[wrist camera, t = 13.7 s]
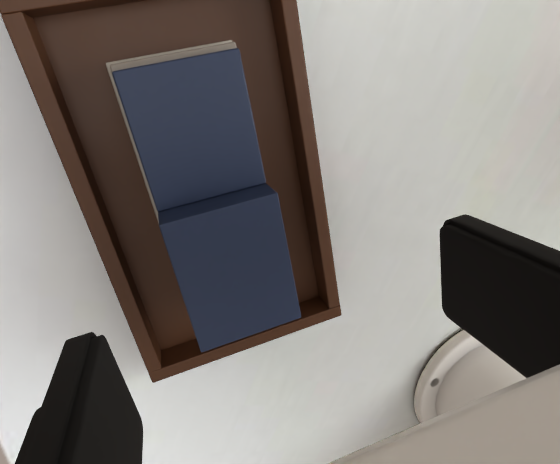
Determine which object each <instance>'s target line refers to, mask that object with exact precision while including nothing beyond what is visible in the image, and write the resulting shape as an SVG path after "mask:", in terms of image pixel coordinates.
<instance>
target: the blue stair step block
mask: <svg viewBox="0 0 560 464" xmlns="http://www.w3.org/2000/svg"><path fill="white" fill-rule="evenodd" d="M106 67H107V70H108V73H109V76H110V79H111V82H112V85H113V88H114V91H115V94H116V97H117V100H118V103H119V106H120V109H121V112H122V115H123V118H124V121H125V124H126V127H127V130H128V133H129V136H130V139H131V142H132V145H133V148H134V151H135V154H136V157H137V160H138V163H139V166H140V169H141V172H142V175H143V178H144V181H145V184H146V187H147V190H148V193H149V196H150V199H151V202H152V205H153V208H154V211H155V214H156V217H157V220H158V223H159V228H160V231H161V234H162V237H163V240H164V243H165V246H166V249H167V252H168V255H169V258H170V261H171V264H172V267H173V270H174V273H175V276H176V279H177V282H178V285H179V288H180V291H181V294H182V297H183V300H184V303H185V306H186V309H187V312H188V315H189V318H190V321H191V324H192V327H193V330H194V333H195V336H196V339H197V342H198V345H199V348H200V351H201V352H205V351H208V350H211V349H213V348H216V347H219V346H222V345H225V344H228V343H230V342H233V341H236V340H239V339H242V338H245V337H247V336H250V335H253V334H256V333H259V332H262V331H265V330H267V329H270V328H273V327H276V326H279V325H282V324H284V323H287V322H290V321H293V320H296V319H299V318H301V312H300V307H299V302H298V296H297V291H296V286H295V281H294V276H293V270H292V265H291V260H290V255H289V250H288V245H287V239H286V234H285V229H284V224H283V219H282V213H281V208H280V203H279V198H278V193H277V192H276V191H275V190H273V189H272V188H271V187H270V186H269V185H267V184H266V178H265V173H264V169H263V164H262V159H261V154H260V149H259V144H258V139H257V134H256V129H255V124H254V119H253V114H252V109H251V104H250V99H249V94H248V89H247V85H246V80H245V75H244V70H243V65H242V60H241V55H240V50H239V48H237V47H236V43H235V42H232V40H228V41H222V42H217V43H211V44H206V45H200V46H195V47H189V48H184V49H179V50H173V51H168V52H162V53H157V54H151V55H146V56H140V57H135V58H129V59H124V60H118V61H113V62H107V63H106Z"/></svg>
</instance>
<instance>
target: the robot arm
mask: <svg viewBox="0 0 560 464" xmlns="http://www.w3.org/2000/svg"><path fill="white" fill-rule="evenodd" d="M440 257H441V287H442V308H443V311H444V313H445V314H446V316H447V317H448V318H449V319H451V320H452V321H453V322H454V323H456V324H457V325H458V326H460V327H461V328H462V329H463V331H461V332H459V333H457V334H456V335H455V336H453V337H452V338H451V339H449V340H448V341H447V342H446V343H445V344H444V345H443V346H442V347H440V348H439V349H438V350H437V352H436V353H435V354H434V355H433V357H432V358H431V359H430V360H429V362H428V363H427V365H426V367H425V368H424V370H423V371H422V374H421V376H420V378H419V381H418V383H417V387H416V391H415V396H414V408H415V413H416V416H417V418H418V420H419V422H420V424H418V425H416V426H413V427H411V428H409V429H406V430H404V431H402V432H399V433H397V434H395V435H392V436H390V437H388V438H385V439H383V440H381V441H378V442H376V443H374V444H372V445H369V446H367V447H365V448H362V449H360V450H358V451H355V452H353V453H351V454H348V455H346V456H344V457H342V458H339V459H337V460H335V461H332V462H330V463H328V464H560V251H558V250H556V249H553V248H550V247H548V246H545V245H543V244H540V243H538V242H535V241H533V240H530V239H528V238H525V237H523V236H520V235H518V234H515V233H512V232H510V231H507V230H505V229H502V228H500V227H497V226H495V225H492V224H490V223H487V222H485V221H482V220H479V219H477V218H474V217H472V216H469V215H462V216H458V217H455V218H452V219H449V220H446V221H445V222H444V225H443V227H442V228H441V229H440ZM142 447H143V425H142V421H141V417H140V415H139V412H138V410H137V408H136V405H135V403H134V401H133V399H132V396H131V394H130V392H129V390H128V387H127V385H126V383H125V381H124V378H123V376H122V374H121V372H120V369H119V367H118V365H117V363H116V360H115V358H114V356H113V353H112V351H111V349H110V347H109V344H108V342H107V340H106V338H105V337H104V336H103V335H100V336H96V335H95V334H94V333H93V332H90V333H87V334H84V335H81V336H77V337H74V338H71V339H68V340H66V342H65V344H64V347H63V349H62V352H61V355H60V358H59V360H58V363H57V366H56V368H55V371H54V374H53V377H52V379H51V382H50V385H49V388H48V390H47V393H46V396H45V399H44V401H43V404H42V407H40V408H39V409H37V410H36V412H35V413H34V415H33V417H32V420H31V423H30V425H29V428H28V430H27V433H26V436H25V438H24V441H23V444H22V446H21V449H20V451H19V454H18V457H17V459H16V462H15V464H142Z"/></svg>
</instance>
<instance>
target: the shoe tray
mask: <svg viewBox="0 0 560 464" xmlns="http://www.w3.org/2000/svg"><path fill="white" fill-rule="evenodd" d="M0 13H1V14H2V15H1V16H2V19H3V21H4V23H5V26H6V28H7V31H8V33H9V36H10V38H11V40H12V43H13V45H14V48H15V50H16V53H17V55H18V57H19V60H20V62H21V65H22V67H23V70H24V72H25V74H26V77H27V79H28V82H29V84H30V87H31V89H32V91H33V94H34V96H35V99H36V101H37V104H38V106H39V108H40V111H41V113H42V116H43V118H44V120H45V123H46V125H47V128H48V130H49V133H50V135H51V137H52V140H53V142H54V145H55V147H56V150H57V152H58V154H59V157H60V159H61V162H62V164H63V167H64V169H65V171H66V174H67V176H68V179H69V181H70V184H71V186H72V188H73V191H74V193H75V196H76V198H77V201H78V203H79V205H80V208H81V210H82V213H83V215H84V218H85V220H86V222H87V225H88V227H89V230H90V232H91V235H92V237H93V239H94V242H95V244H96V247H97V249H98V252H99V254H100V256H101V259H102V261H103V264H104V266H105V269H106V271H107V273H108V276H109V278H110V281H111V283H112V285H113V288H114V290H115V293H116V295H117V298H118V300H119V302H120V305H121V307H122V310H123V312H124V315H125V317H126V319H127V322H128V324H129V327H130V329H131V332H132V334H133V336H134V339H135V341H136V344H137V346H138V349H139V351H140V353H141V356H142V358H143V361H144V363H145V366H146V368H147V370H148V372H149V375H150V378H151V380H152V382H153V383H154V382H156V381H159V380H162V379H165V378H168V377H170V376H173V375H176V374H179V373H182V372H184V371H187V370H190V369H193V368H195V367H198V366H201V365H204V364H207V363H209V362H212V361H215V360H218V359H221V358H223V357H226V356H229V355H232V354H234V353H237V352H240V351H243V350H246V349H248V348H251V347H254V346H257V345H260V344H262V343H265V342H268V341H271V340H273V339H276V338H279V337H282V336H285V335H287V334H290V333H293V332H296V331H299V330H301V329H304V328H307V327H310V326H312V325H315V324H318V323H321V322H324V321H326V320H329V319H332V318H335V317H338V316H340V315H341V309H340V303H339V296H338V289H337V282H336V275H335V268H334V261H333V254H332V247H331V240H330V233H329V226H328V219H327V212H326V205H325V198H324V191H323V184H322V177H321V170H320V163H319V156H318V149H317V142H316V135H315V128H314V121H313V114H312V107H311V100H310V93H309V86H308V79H307V72H306V65H305V58H304V51H303V44H302V37H301V30H300V23H299V16H298V9H297V2H296V0H0ZM228 40H232V42H235V43H236V47H237V48H239V50H240V55H241V60H242V65H243V70H244V75H245V80H246V85H247V89H248V94H249V99H250V104H251V109H252V114H253V119H254V124H255V129H256V134H257V139H258V144H259V149H260V154H261V159H262V164H263V169H264V173H265V178H266V184H267V185H269V186H270V187H271V188H272V189H273V190H275V191H276V192H277V193H278V198H279V203H280V208H281V213H282V219H283V224H284V229H285V234H286V239H287V245H288V250H289V255H290V260H291V265H292V270H293V276H294V281H295V286H296V291H297V296H298V302H299V307H300V312H301V318H299V319H296V320H293V321H290V322H287V323H284V324H282V325H279V326H276V327H273V328H270V329H267V330H265V331H262V332H259V333H256V334H253V335H250V336H247V337H245V338H242V339H239V340H236V341H233V342H230V343H228V344H225V345H222V346H219V347H216V348H213V349H211V350H208V351H205V352H201V351H200V348H199V345H198V342H197V339H196V336H195V333H194V330H193V327H192V324H191V321H190V318H189V315H188V312H187V309H186V306H185V303H184V300H183V297H182V294H181V291H180V288H179V285H178V282H177V279H176V276H175V273H174V270H173V267H172V264H171V261H170V258H169V255H168V252H167V249H166V246H165V243H164V240H163V237H162V234H161V231H160V228H159V223H158V220H157V217H156V214H155V211H154V208H153V205H152V202H151V199H150V196H149V193H148V190H147V187H146V184H145V181H144V178H143V175H142V172H141V169H140V166H139V163H138V160H137V157H136V154H135V151H134V148H133V145H132V142H131V139H130V136H129V133H128V130H127V127H126V124H125V121H124V118H123V115H122V112H121V109H120V106H119V103H118V100H117V97H116V94H115V91H114V88H113V85H112V82H111V79H110V76H109V73H108V70H107V67H106V63H107V62H113V61H118V60H124V59H129V58H135V57H140V56H146V55H151V54H157V53H162V52H168V51H173V50H179V49H184V48H189V47H195V46H200V45H206V44H211V43H217V42H222V41H228Z"/></svg>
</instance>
